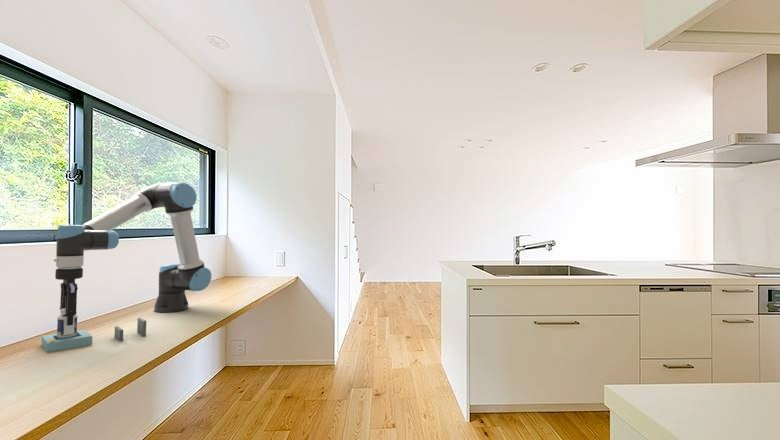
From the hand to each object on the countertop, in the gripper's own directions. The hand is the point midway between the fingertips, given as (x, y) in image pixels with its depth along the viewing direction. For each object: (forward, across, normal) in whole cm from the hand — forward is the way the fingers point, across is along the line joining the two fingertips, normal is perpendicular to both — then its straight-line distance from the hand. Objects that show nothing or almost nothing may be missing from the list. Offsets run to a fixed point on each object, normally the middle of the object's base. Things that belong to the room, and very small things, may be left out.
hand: (67, 332), depth 134 cm
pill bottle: (+2, 0, 0) cm, 2 cm away
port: (+4, 0, 0) cm, 4 cm away
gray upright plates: (+4, +5, +18) cm, 19 cm away
